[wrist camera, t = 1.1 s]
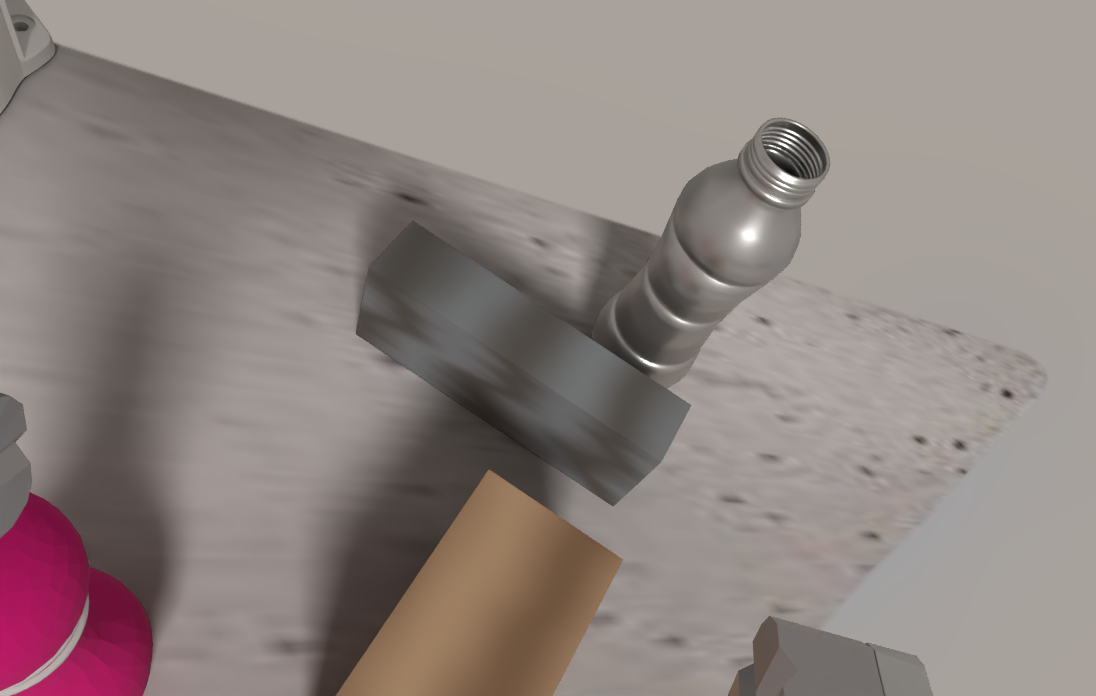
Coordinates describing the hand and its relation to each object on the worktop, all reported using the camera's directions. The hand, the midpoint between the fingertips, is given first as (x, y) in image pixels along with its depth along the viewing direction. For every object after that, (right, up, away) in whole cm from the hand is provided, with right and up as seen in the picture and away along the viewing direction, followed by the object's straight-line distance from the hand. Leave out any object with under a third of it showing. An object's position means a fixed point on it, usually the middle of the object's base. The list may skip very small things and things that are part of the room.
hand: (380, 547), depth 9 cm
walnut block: (-4, -14, +32) cm, 35 cm away
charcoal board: (-1, -1, +41) cm, 41 cm away
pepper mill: (-19, -12, +28) cm, 36 cm away
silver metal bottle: (+7, +1, +45) cm, 45 cm away
